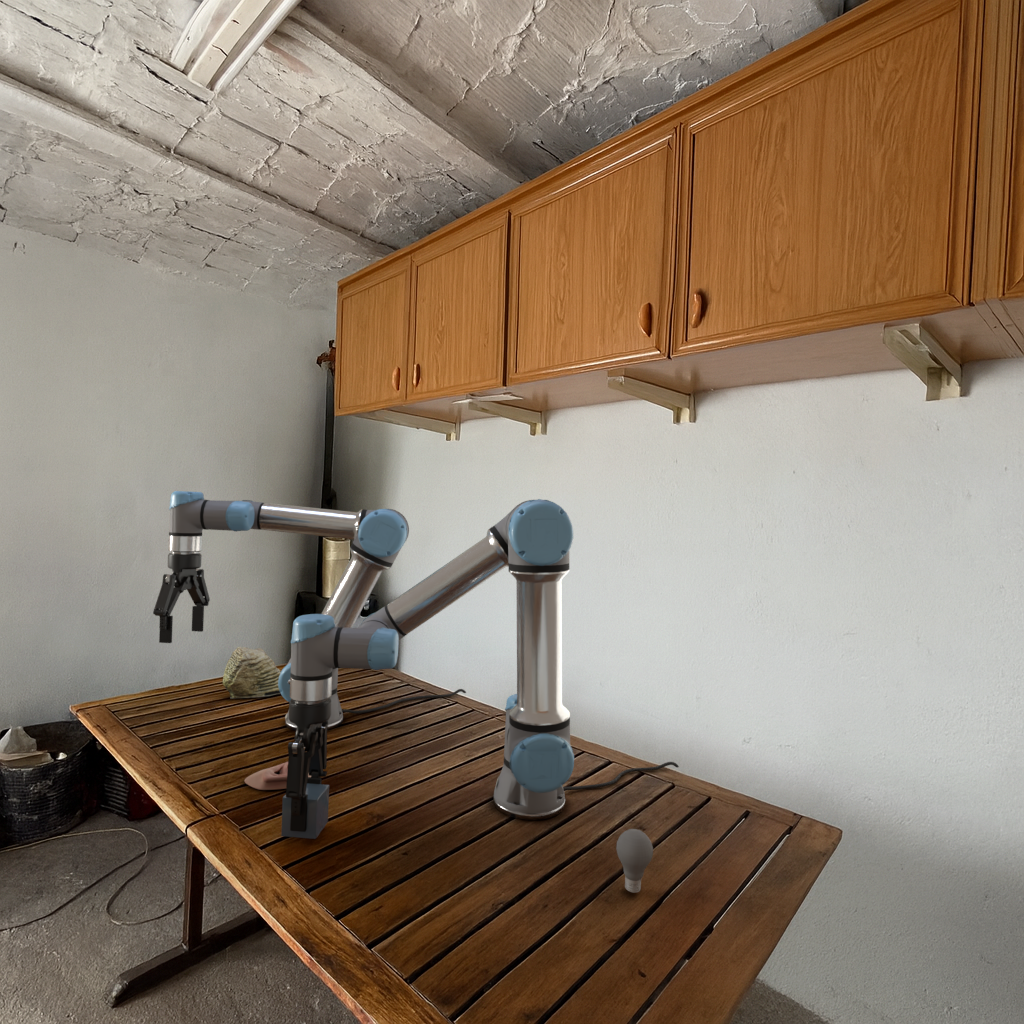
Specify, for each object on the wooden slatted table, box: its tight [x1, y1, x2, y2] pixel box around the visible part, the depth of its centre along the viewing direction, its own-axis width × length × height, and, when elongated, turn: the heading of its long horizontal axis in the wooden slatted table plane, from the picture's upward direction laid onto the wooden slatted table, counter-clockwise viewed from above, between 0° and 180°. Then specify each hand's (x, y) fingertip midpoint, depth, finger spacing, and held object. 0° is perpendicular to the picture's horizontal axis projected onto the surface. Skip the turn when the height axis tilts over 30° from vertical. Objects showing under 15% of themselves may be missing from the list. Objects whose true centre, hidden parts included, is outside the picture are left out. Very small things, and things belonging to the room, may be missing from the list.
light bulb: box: [615, 828, 654, 894], centre depth 106 cm, size 6×6×10 cm
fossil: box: [222, 646, 281, 699], centre depth 198 cm, size 9×18×15 cm, turn 132°
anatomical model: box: [244, 761, 311, 791], centre depth 141 cm, size 13×4×12 cm
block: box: [280, 783, 330, 840], centre depth 119 cm, size 6×6×7 cm
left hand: (182, 636), depth 159 cm, fingers open, 13 cm apart
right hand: (305, 820), depth 119 cm, fingers closed on block, 6 cm apart
